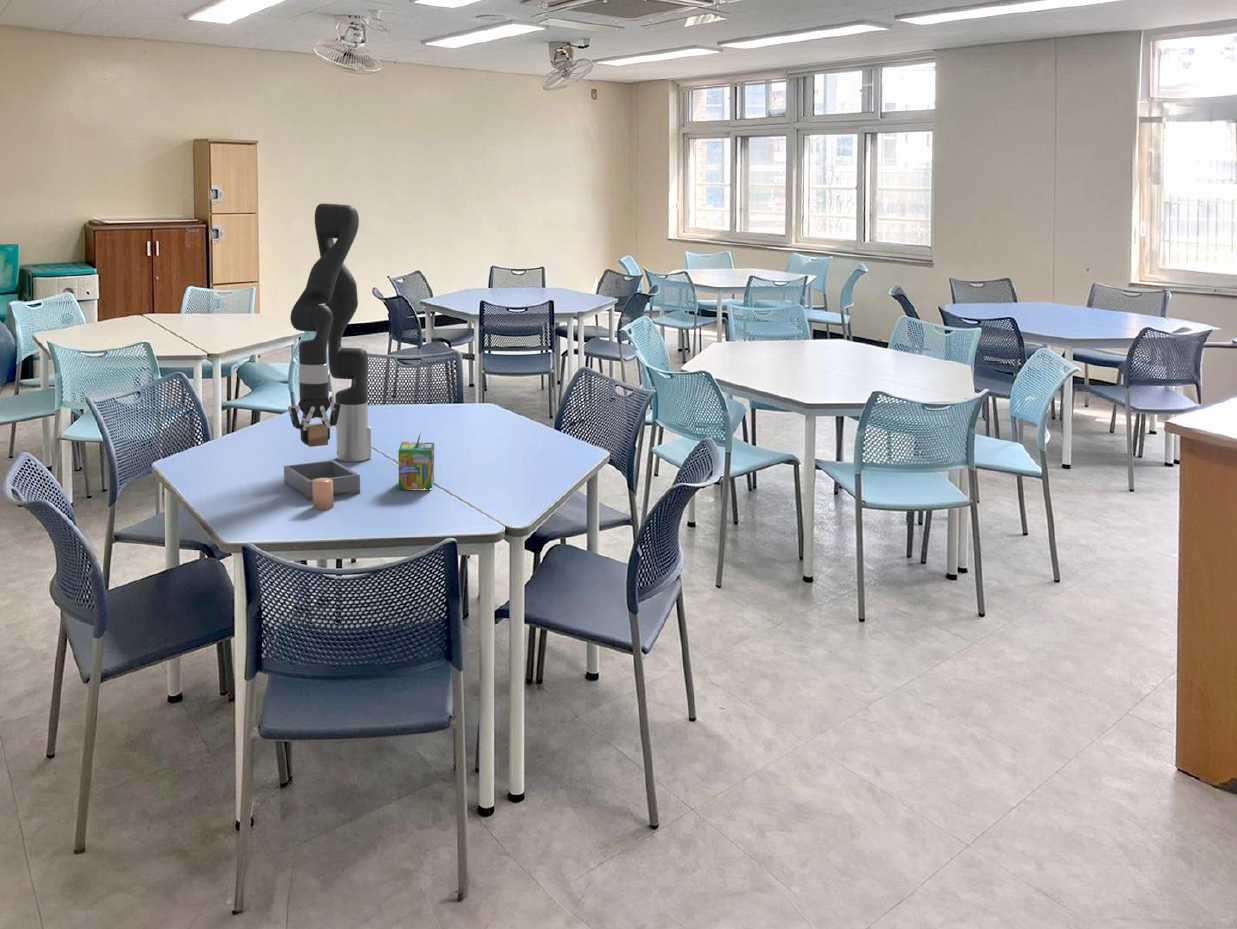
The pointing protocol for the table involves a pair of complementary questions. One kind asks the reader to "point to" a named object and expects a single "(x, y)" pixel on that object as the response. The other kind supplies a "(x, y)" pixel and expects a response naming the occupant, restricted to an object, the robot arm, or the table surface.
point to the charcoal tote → (303, 475)
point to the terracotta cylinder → (322, 493)
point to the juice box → (416, 465)
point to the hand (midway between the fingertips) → (315, 442)
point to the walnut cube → (317, 435)
